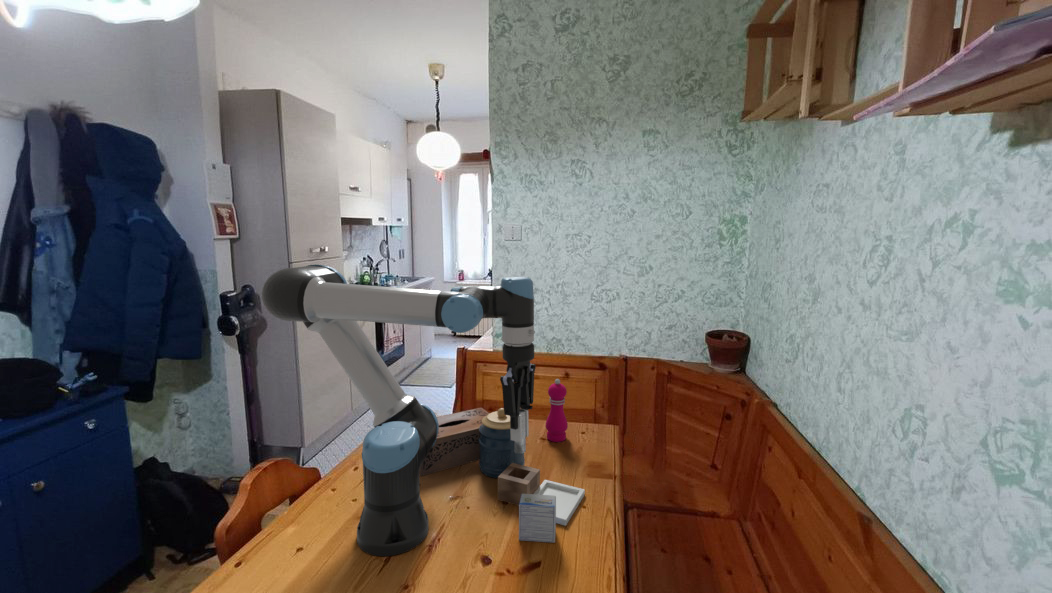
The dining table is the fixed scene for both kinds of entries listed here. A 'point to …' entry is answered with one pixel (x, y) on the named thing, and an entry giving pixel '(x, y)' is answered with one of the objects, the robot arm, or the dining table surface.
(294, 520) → the dining table surface
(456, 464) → the tissue box cover
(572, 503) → the tray
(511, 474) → the square hollow frame
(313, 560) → the dining table surface
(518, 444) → the pin
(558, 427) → the pepper mill
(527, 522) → the medicine box
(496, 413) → the canister
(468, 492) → the dining table surface
